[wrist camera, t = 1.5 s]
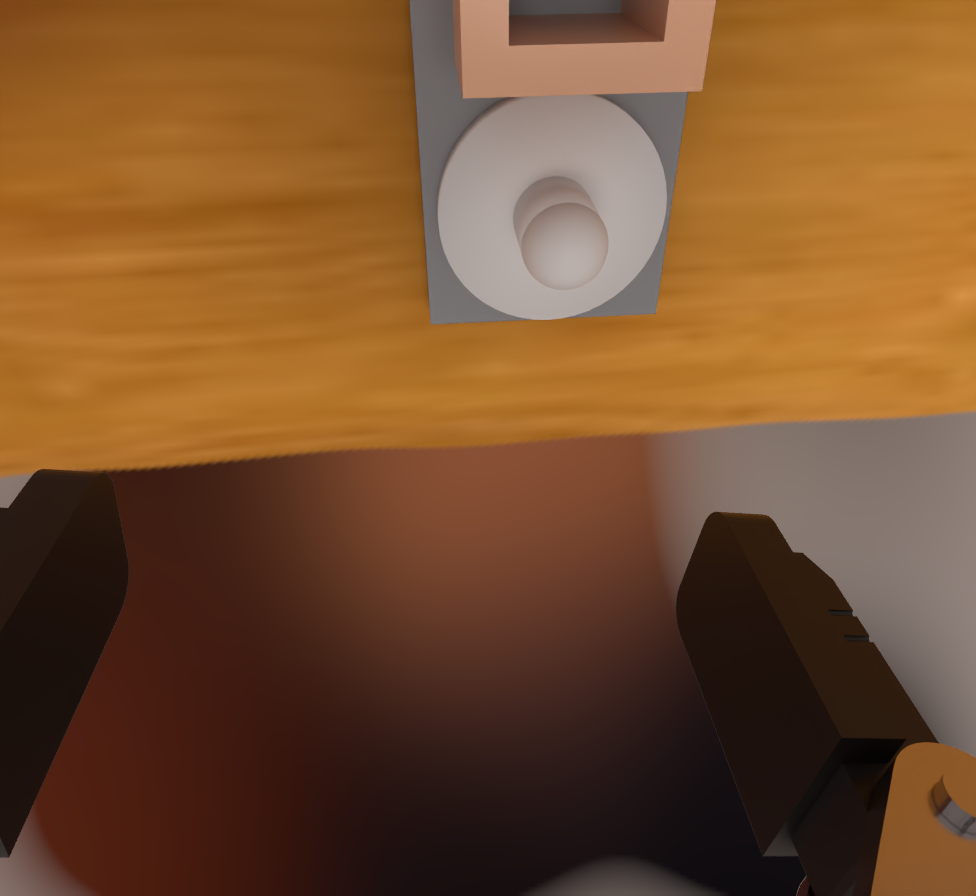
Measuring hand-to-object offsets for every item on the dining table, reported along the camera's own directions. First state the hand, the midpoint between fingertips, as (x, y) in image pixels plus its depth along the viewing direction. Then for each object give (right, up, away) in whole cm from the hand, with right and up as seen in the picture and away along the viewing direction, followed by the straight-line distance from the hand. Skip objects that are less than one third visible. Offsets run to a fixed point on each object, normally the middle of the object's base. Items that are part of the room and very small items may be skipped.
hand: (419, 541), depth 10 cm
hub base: (+3, +14, +15) cm, 21 cm away
